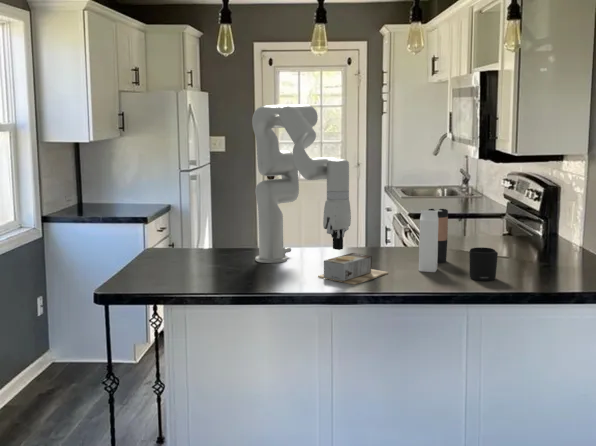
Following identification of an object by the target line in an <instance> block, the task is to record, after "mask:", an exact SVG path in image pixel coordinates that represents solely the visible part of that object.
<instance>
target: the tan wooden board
mask: <svg viewBox="0 0 596 446" xmlns="http://www.w3.org/2000/svg"><path fill="white" fill-rule="evenodd" d="M388 274H389V271H385V270H378V269H372V268H371V273H368V274H365V275H362V276H358V277H355V278H352V279H348V280H345V281H340V280H335V279H330V278H325V277H324V273H323V274H320V275H318V276H317V278H318V277H320V278H319V279H323V278H325V279H324V280H328V279H329V280H328V281H333V280H334V281H335V282H340V283H344V284H349V285H354V286H355V285H356V286H357V285H359V284H362V283H364V282H368V281H371V280H373V279H376V278H380V277H383V276H386V275H388Z"/></svg>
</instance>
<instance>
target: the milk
mask: <svg viewBox="0 0 596 446" xmlns="http://www.w3.org/2000/svg"><path fill="white" fill-rule="evenodd" d="M418 240H419V241H418V243H419V244H418V246H419V247H418V272H422V273H423V272H426V273H436V272H437V270H438V263H437V257H438V211H430V210H429V209H428V210H426V209H423V210H422V209H421V211H420V217H419V238H418Z"/></svg>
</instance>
